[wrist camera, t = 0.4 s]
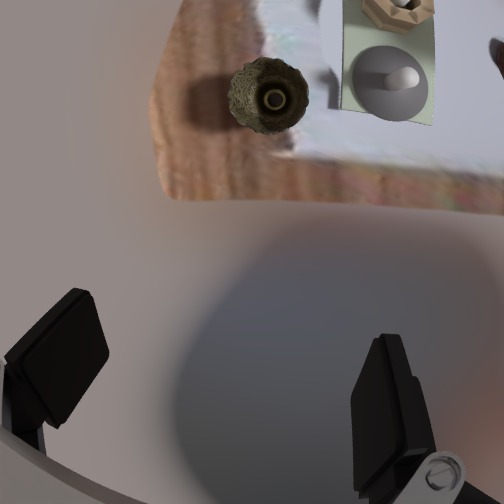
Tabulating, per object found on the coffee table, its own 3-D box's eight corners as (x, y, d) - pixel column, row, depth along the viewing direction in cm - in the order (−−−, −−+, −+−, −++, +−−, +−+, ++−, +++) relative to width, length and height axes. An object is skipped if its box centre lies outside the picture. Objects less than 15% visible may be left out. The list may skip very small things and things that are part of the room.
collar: (360, -22, 22) (367, -39, 17) (416, -9, 21) (430, -23, 16) (361, 26, 25) (370, 13, 20) (419, 39, 24) (435, 29, 19)
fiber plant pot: (231, 107, 33) (211, 106, 26) (266, 58, 30) (255, 43, 23) (283, 142, 34) (278, 150, 27) (320, 93, 31) (325, 87, 23)
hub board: (341, -23, 23) (349, -52, 16) (426, -4, 22) (451, -25, 15) (339, 113, 31) (350, 112, 24) (426, 129, 30) (456, 134, 23)
